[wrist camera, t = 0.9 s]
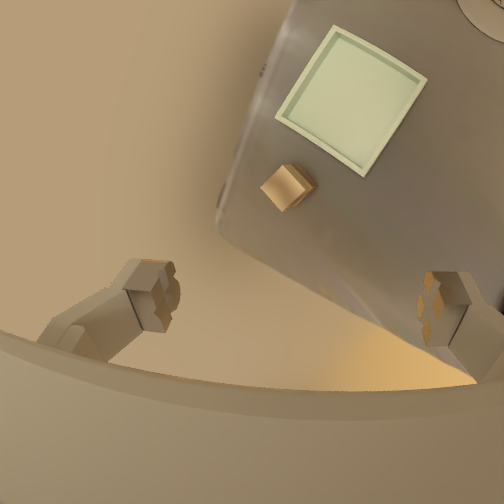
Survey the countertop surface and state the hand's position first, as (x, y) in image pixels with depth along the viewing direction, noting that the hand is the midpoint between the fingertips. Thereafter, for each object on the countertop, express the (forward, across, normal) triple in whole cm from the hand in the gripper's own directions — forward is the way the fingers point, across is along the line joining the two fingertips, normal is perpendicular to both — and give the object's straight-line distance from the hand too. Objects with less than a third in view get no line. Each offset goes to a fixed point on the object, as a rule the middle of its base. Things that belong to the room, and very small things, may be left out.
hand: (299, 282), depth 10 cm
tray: (+42, -7, 0) cm, 42 cm away
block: (+40, +1, +14) cm, 42 cm away
